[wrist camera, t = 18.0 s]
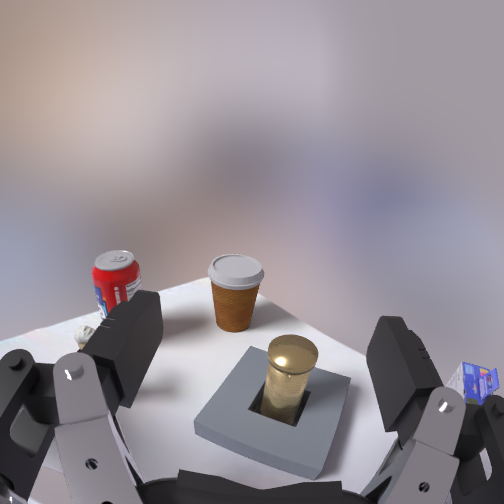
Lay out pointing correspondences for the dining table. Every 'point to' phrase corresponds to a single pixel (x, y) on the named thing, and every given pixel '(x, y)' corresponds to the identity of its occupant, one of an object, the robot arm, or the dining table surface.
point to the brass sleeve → (287, 376)
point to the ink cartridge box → (474, 383)
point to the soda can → (115, 279)
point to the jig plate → (266, 429)
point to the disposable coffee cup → (234, 289)
